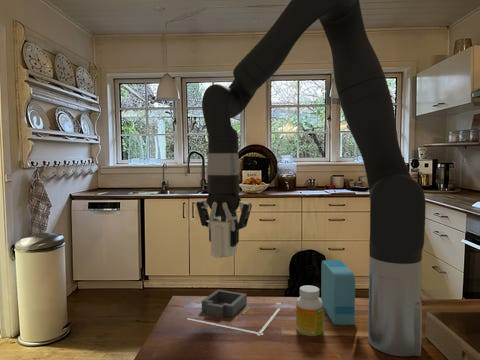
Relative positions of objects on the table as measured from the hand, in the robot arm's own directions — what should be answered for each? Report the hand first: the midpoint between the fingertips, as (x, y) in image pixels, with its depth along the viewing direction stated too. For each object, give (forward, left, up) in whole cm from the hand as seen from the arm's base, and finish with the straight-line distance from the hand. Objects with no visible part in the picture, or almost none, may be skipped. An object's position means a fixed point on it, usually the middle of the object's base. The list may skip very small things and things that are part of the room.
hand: (223, 244), depth 83 cm
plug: (0, 0, -2) cm, 2 cm away
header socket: (-1, +1, -15) cm, 15 cm away
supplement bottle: (-21, +3, -17) cm, 27 cm away
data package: (-25, -8, -17) cm, 31 cm away
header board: (-4, +2, -16) cm, 17 cm away
